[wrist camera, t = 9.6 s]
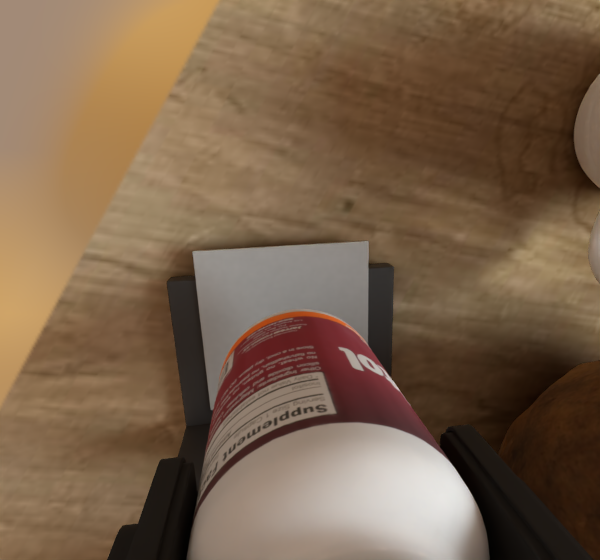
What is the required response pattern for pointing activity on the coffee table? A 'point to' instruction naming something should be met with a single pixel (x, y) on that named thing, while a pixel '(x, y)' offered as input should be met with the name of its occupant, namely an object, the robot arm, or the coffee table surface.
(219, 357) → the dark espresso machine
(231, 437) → the pill bottle
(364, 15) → the coffee table surface
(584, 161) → the mug
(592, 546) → the bowl
